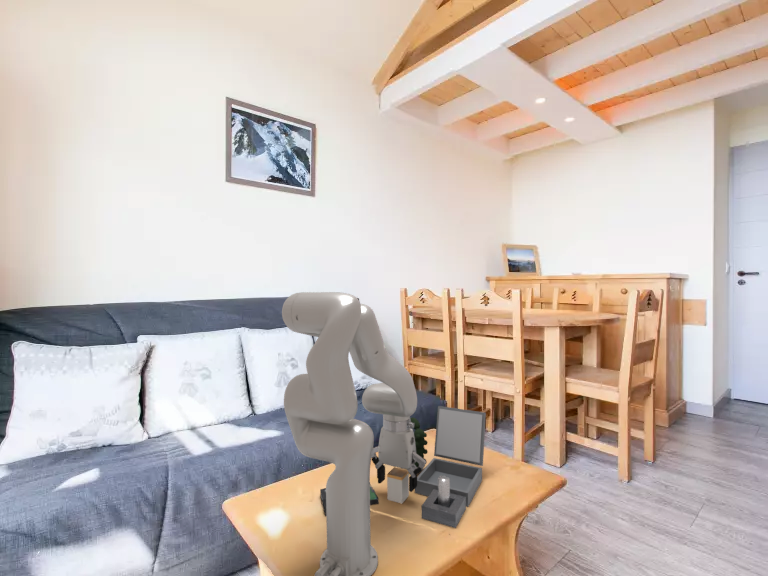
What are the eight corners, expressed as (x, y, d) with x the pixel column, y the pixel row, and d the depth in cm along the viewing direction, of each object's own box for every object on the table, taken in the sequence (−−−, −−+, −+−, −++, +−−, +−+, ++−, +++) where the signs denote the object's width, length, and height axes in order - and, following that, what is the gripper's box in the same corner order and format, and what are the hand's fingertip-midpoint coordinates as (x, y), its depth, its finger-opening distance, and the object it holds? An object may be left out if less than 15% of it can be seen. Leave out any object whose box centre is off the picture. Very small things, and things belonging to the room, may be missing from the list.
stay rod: (447, 521, 99) (447, 482, 99) (436, 518, 101) (436, 479, 101) (451, 514, 102) (451, 477, 102) (440, 511, 103) (440, 474, 103)
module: (402, 506, 106) (401, 477, 106) (387, 502, 108) (387, 474, 108) (408, 498, 110) (408, 470, 110) (394, 494, 112) (394, 467, 112)
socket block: (455, 531, 95) (455, 515, 95) (421, 521, 99) (421, 505, 99) (465, 511, 103) (465, 496, 103) (433, 503, 107) (433, 488, 107)
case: (468, 509, 104) (468, 493, 104) (414, 495, 111) (414, 480, 111) (482, 482, 118) (482, 468, 118) (433, 471, 125) (433, 457, 125)
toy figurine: (433, 480, 123) (398, 443, 146) (435, 423, 121) (399, 395, 144) (407, 487, 119) (375, 448, 142) (409, 428, 117) (376, 398, 140)
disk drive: (325, 519, 102) (379, 508, 106) (325, 508, 102) (379, 498, 106) (319, 498, 112) (369, 489, 116) (319, 488, 112) (369, 479, 116)
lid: (484, 412, 121) (485, 412, 122) (437, 405, 129) (438, 405, 130) (481, 466, 118) (483, 465, 119) (433, 456, 125) (434, 455, 126)
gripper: (430, 425, 108) (430, 486, 108) (376, 415, 116) (376, 473, 116) (420, 433, 101) (420, 499, 101) (363, 423, 109) (363, 484, 109)
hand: (396, 485), depth 108 cm, fingers open, 9 cm apart
